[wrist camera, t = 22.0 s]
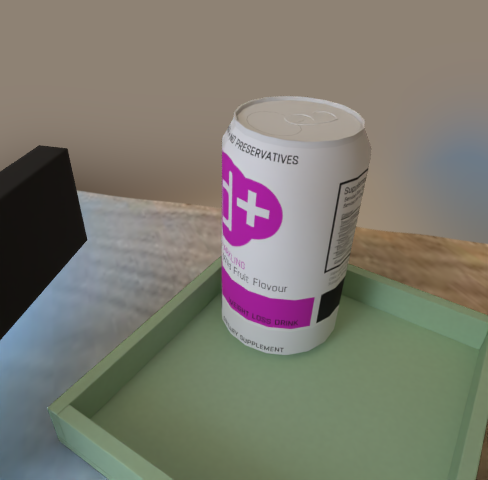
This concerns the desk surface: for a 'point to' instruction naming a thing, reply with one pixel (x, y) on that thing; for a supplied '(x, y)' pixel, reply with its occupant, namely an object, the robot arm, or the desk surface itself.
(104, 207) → the desk surface
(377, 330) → the tray
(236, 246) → the supplement can
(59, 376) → the desk surface
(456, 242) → the desk surface
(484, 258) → the desk surface
